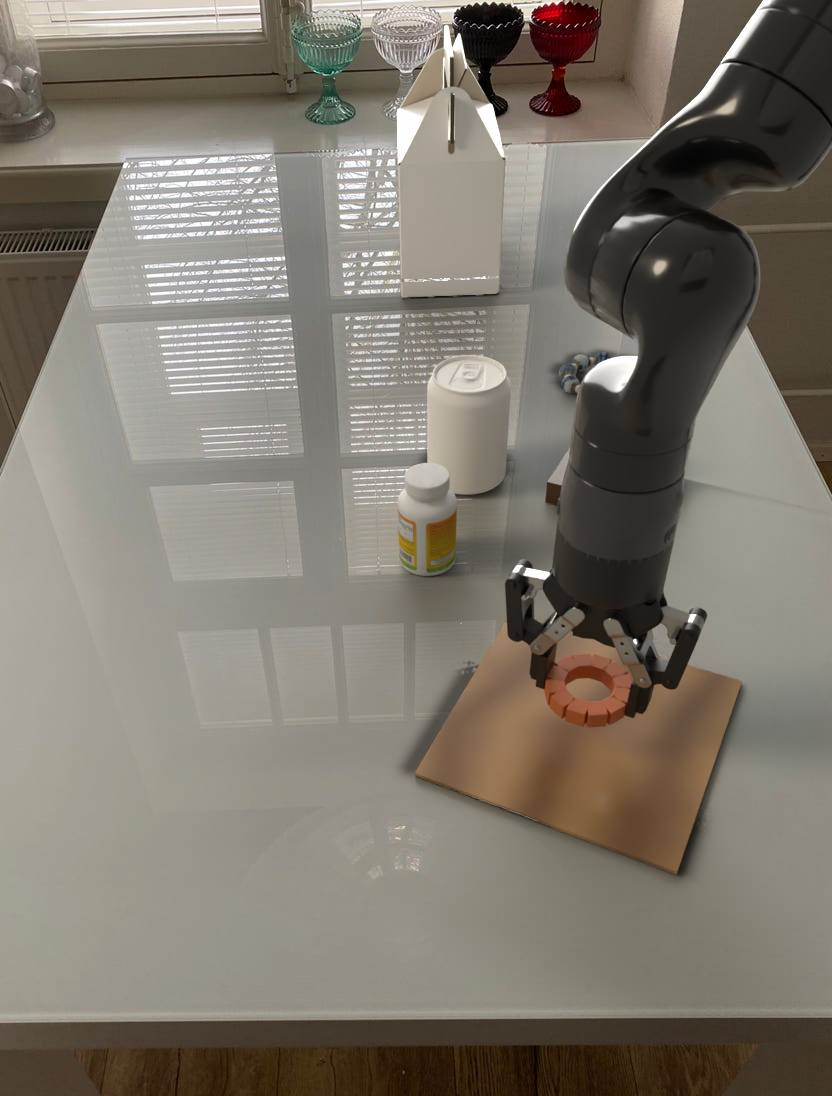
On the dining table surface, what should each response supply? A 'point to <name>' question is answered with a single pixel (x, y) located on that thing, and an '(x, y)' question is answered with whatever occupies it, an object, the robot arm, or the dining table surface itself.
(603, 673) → the ring
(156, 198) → the dining table surface
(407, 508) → the supplement bottle
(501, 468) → the beverage can
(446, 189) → the gable box
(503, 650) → the wooden board
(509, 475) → the dining table surface
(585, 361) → the bracelet
